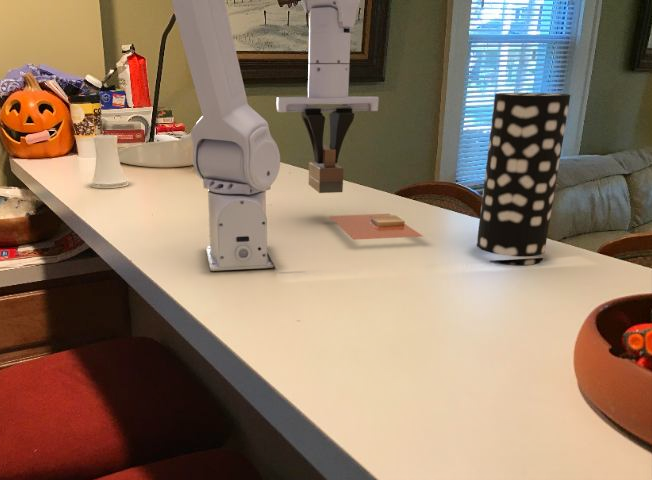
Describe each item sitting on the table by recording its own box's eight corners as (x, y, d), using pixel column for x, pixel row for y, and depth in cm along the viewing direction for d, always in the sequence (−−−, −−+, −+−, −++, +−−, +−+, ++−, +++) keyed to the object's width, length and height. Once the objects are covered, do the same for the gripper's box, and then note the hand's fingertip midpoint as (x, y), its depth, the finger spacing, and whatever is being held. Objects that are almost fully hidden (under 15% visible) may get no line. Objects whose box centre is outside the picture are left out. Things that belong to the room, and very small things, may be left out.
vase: (85, 184, 128) (79, 135, 124) (118, 180, 132) (113, 133, 129) (101, 189, 122) (95, 138, 119) (134, 185, 127) (130, 136, 123)
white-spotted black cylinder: (500, 267, 75) (524, 96, 67) (463, 249, 82) (481, 93, 75) (557, 262, 77) (587, 95, 69) (516, 244, 84) (538, 92, 77)
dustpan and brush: (190, 154, 170) (189, 119, 167) (254, 170, 145) (254, 129, 142) (111, 161, 158) (108, 124, 155) (166, 180, 133) (163, 135, 129)
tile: (422, 244, 84) (423, 236, 84) (353, 247, 83) (353, 239, 83) (388, 220, 97) (389, 213, 97) (328, 223, 96) (328, 215, 95)
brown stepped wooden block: (342, 192, 88) (344, 150, 86) (319, 193, 88) (320, 150, 86) (330, 183, 95) (331, 144, 93) (308, 184, 94) (309, 144, 92)
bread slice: (404, 225, 89) (404, 221, 89) (378, 226, 89) (378, 222, 89) (395, 219, 93) (395, 214, 93) (370, 220, 93) (370, 215, 92)
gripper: (369, 64, 90) (364, 157, 95) (273, 64, 88) (273, 159, 92) (385, 63, 83) (379, 164, 88) (282, 64, 81) (281, 166, 86)
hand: (326, 162), depth 90 cm, fingers closed on brown stepped wooden block, 2 cm apart
